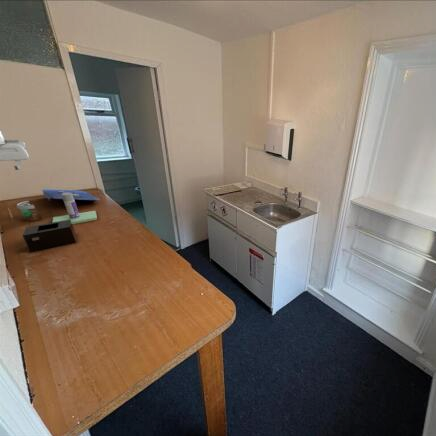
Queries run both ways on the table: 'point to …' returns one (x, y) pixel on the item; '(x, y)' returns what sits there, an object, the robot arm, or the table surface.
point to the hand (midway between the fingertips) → (3, 170)
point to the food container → (28, 211)
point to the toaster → (49, 235)
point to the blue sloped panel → (76, 194)
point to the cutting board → (83, 218)
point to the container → (70, 205)
